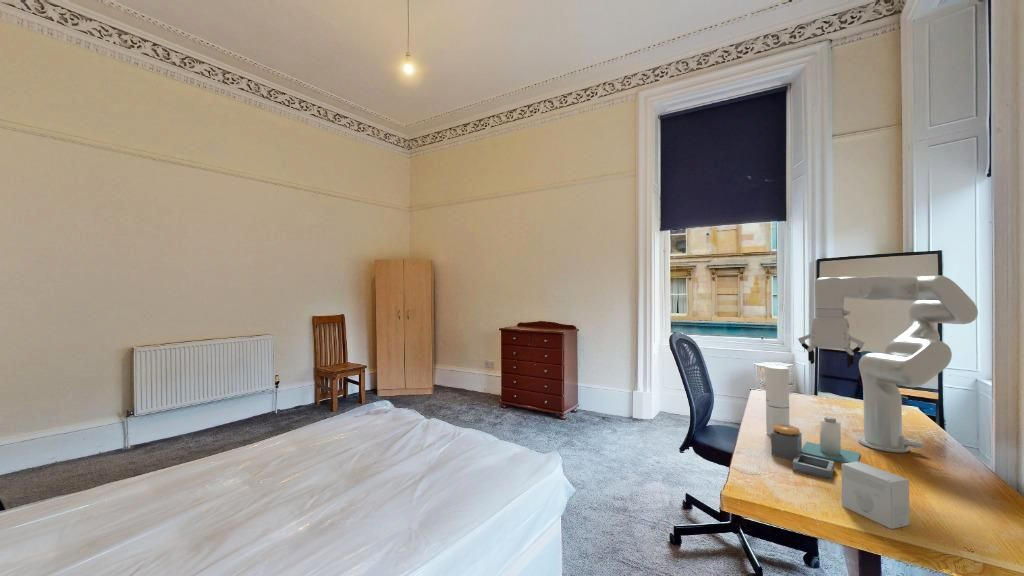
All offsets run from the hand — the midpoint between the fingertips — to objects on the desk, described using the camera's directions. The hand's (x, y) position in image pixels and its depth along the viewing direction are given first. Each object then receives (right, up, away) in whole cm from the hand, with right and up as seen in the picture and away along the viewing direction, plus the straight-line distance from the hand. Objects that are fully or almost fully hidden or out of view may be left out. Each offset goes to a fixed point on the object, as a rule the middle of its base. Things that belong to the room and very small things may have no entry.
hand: (830, 365), depth 132 cm
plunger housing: (-17, -28, -4) cm, 34 cm away
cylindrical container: (-8, -29, +14) cm, 33 cm away
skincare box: (-21, -28, -39) cm, 52 cm away
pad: (-3, -28, -4) cm, 29 cm away
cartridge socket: (-17, -28, -15) cm, 37 cm away
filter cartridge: (-3, -28, -4) cm, 28 cm away
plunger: (-17, -25, -4) cm, 31 cm away
